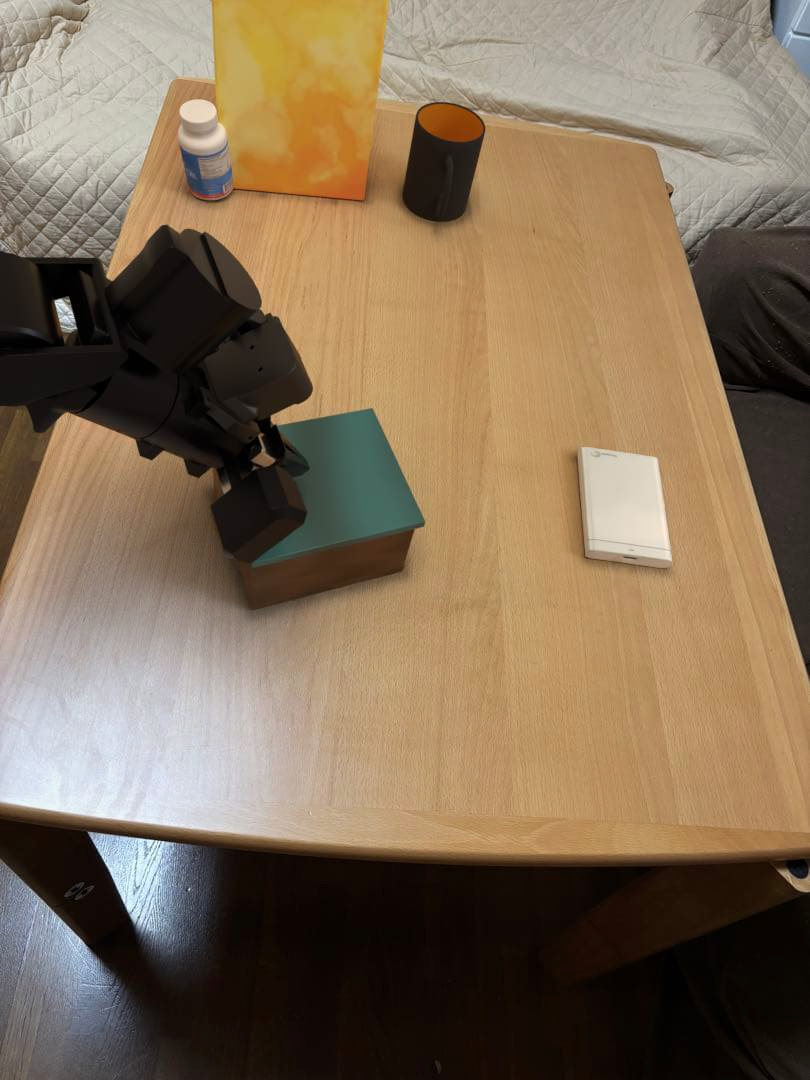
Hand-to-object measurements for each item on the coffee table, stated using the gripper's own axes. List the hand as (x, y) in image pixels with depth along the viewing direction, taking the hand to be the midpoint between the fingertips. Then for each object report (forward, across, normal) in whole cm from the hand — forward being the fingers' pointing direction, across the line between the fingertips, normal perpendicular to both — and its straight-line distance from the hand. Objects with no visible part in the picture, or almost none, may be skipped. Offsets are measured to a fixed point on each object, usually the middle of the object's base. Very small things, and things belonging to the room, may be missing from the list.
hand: (304, 468), depth 63 cm
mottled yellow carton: (+18, +53, -4) cm, 56 cm away
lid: (+3, 0, +1) cm, 3 cm away
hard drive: (+29, -6, -15) cm, 33 cm away
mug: (+28, +42, -15) cm, 53 cm away
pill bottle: (+10, +50, +3) cm, 51 cm away
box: (+7, 0, +6) cm, 10 cm away
